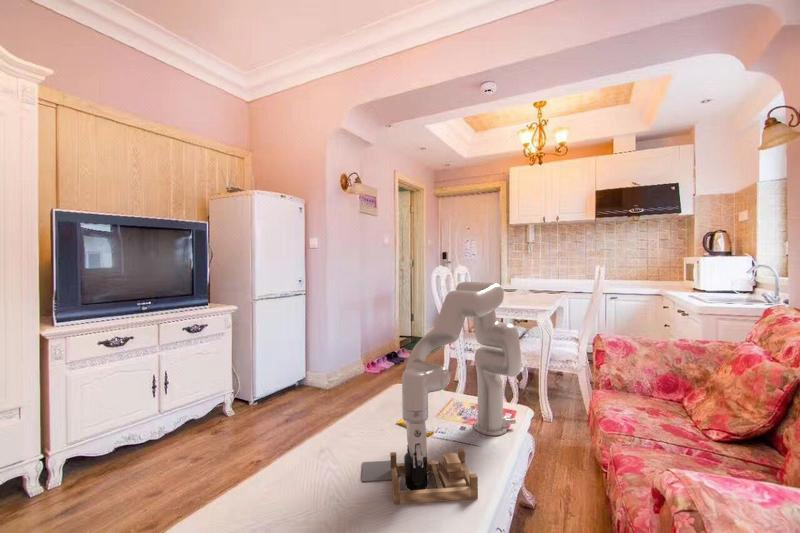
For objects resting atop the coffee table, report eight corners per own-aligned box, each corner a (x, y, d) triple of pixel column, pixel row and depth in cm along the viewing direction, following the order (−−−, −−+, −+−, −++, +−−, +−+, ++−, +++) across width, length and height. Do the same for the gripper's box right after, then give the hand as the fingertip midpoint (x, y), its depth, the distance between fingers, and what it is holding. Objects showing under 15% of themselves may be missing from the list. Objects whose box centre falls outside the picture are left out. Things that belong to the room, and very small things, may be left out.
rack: (463, 466, 116) (463, 448, 116) (477, 498, 101) (477, 477, 100) (390, 471, 114) (390, 452, 114) (393, 504, 99) (393, 482, 99)
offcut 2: (453, 465, 112) (453, 457, 112) (464, 478, 106) (464, 469, 106) (438, 469, 111) (438, 460, 110) (449, 482, 104) (449, 473, 104)
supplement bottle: (430, 480, 109) (430, 441, 109) (424, 494, 103) (424, 452, 102) (408, 476, 111) (408, 437, 111) (401, 490, 105) (400, 449, 104)
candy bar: (435, 435, 137) (435, 430, 137) (428, 439, 135) (428, 434, 134) (403, 421, 149) (403, 417, 149) (396, 425, 146) (396, 420, 146)
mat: (393, 461, 119) (393, 460, 119) (395, 480, 109) (395, 478, 109) (362, 463, 119) (362, 462, 119) (361, 482, 109) (361, 481, 109)
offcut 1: (456, 461, 110) (456, 453, 110) (461, 470, 105) (461, 462, 105) (443, 462, 110) (443, 454, 110) (447, 472, 105) (447, 463, 105)
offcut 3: (457, 474, 113) (456, 465, 112) (466, 493, 104) (466, 482, 104) (438, 476, 112) (437, 466, 112) (445, 495, 103) (445, 484, 103)
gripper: (433, 425, 98) (433, 488, 98) (423, 400, 115) (424, 453, 116) (405, 426, 97) (406, 490, 98) (400, 401, 115) (400, 455, 115)
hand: (415, 470), depth 107 cm, fingers open, 9 cm apart
